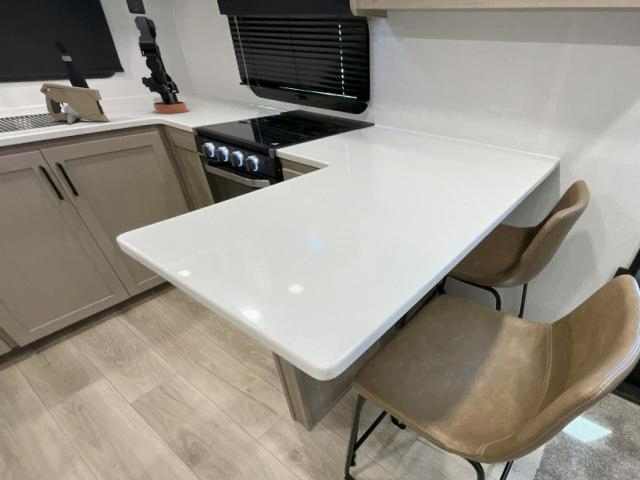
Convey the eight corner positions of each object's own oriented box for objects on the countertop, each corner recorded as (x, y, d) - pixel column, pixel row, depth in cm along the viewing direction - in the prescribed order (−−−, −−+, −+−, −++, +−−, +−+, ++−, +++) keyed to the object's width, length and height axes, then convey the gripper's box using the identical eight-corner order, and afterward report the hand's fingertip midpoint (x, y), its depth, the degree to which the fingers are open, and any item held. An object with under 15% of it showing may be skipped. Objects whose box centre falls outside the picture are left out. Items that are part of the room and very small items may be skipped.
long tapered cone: (80, 113, 149) (77, 103, 159) (62, 116, 146) (61, 105, 157) (88, 126, 153) (85, 115, 163) (72, 129, 150) (70, 118, 161)
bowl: (160, 109, 185) (157, 101, 182) (190, 109, 188) (187, 100, 186) (152, 114, 173) (149, 105, 171) (184, 113, 177) (181, 104, 174)
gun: (51, 120, 153) (33, 82, 144) (57, 119, 155) (39, 81, 146) (107, 126, 155) (93, 89, 146) (112, 125, 158) (98, 89, 149)
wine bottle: (83, 113, 171) (45, 40, 152) (96, 111, 175) (61, 40, 157) (91, 114, 169) (54, 40, 150) (104, 112, 173) (70, 41, 155)
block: (168, 109, 181) (162, 92, 177) (177, 109, 182) (171, 92, 178) (166, 111, 178) (159, 93, 173) (175, 110, 179) (169, 93, 174)
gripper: (145, 69, 174) (158, 103, 184) (133, 71, 160) (148, 108, 170) (168, 69, 177) (179, 102, 187) (159, 71, 163) (172, 107, 172)
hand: (169, 105), depth 179 cm, fingers closed on block, 4 cm apart
